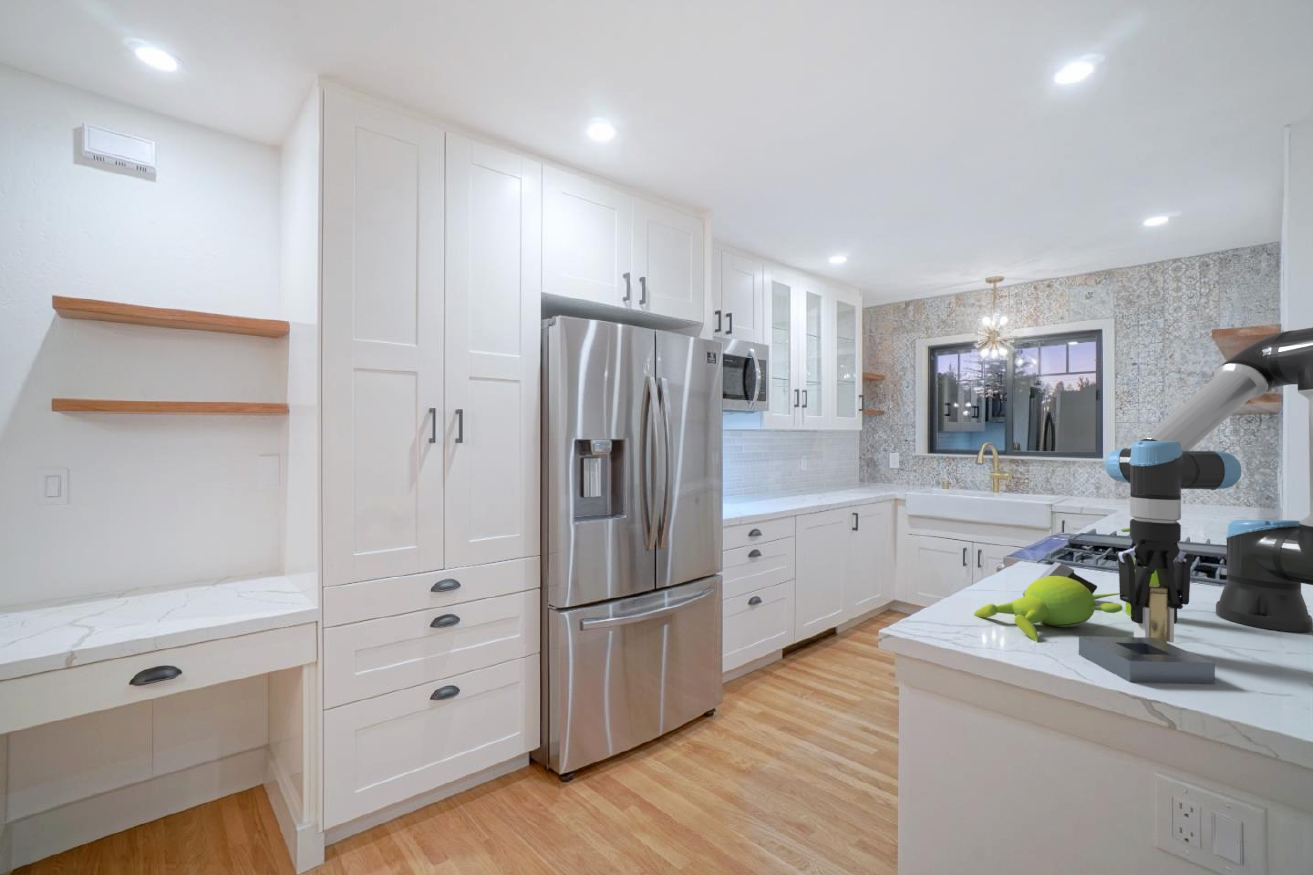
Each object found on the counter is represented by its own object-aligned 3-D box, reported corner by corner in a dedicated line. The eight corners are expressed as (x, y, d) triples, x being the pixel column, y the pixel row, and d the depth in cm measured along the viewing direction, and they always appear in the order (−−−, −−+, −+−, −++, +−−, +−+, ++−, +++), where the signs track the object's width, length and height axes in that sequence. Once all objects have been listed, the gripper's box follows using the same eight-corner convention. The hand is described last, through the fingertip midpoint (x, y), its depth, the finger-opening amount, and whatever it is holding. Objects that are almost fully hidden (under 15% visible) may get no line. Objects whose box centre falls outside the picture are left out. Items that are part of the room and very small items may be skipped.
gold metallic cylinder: (1155, 644, 114) (1155, 583, 114) (1172, 651, 110) (1173, 589, 110) (1134, 643, 114) (1135, 583, 114) (1151, 651, 110) (1152, 588, 110)
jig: (1154, 656, 108) (1154, 637, 108) (1214, 683, 96) (1215, 662, 96) (1078, 654, 109) (1079, 636, 109) (1129, 681, 97) (1129, 660, 97)
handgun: (1047, 626, 147) (1018, 591, 146) (1089, 586, 148) (1060, 551, 147) (1058, 631, 143) (1028, 595, 143) (1101, 590, 144) (1072, 554, 143)
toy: (1046, 659, 114) (1163, 620, 120) (1037, 607, 113) (1155, 570, 120) (971, 627, 133) (1076, 595, 139) (963, 583, 133) (1068, 553, 139)
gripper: (1182, 517, 116) (1181, 633, 116) (1096, 516, 116) (1095, 632, 116) (1217, 523, 108) (1216, 647, 108) (1125, 522, 109) (1124, 645, 109)
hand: (1153, 639), depth 112 cm, fingers closed on gold metallic cylinder, 4 cm apart
